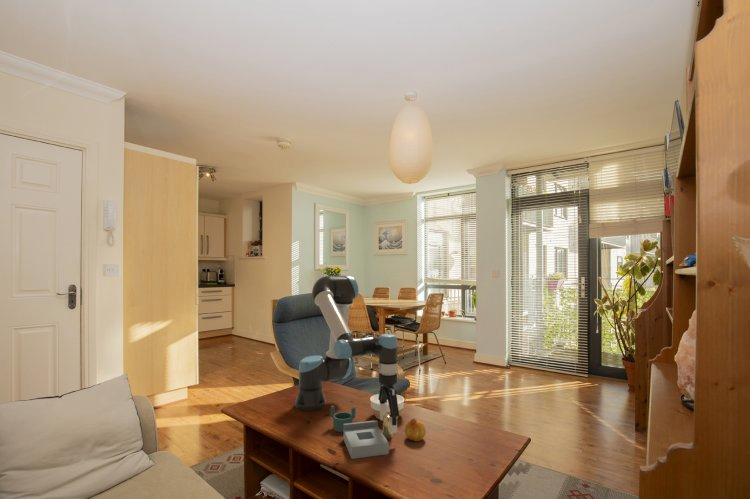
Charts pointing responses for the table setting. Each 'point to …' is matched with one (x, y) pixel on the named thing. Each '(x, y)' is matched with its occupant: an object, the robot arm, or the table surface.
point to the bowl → (376, 403)
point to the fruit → (415, 430)
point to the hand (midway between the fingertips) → (388, 426)
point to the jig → (364, 439)
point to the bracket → (342, 418)
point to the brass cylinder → (386, 426)
